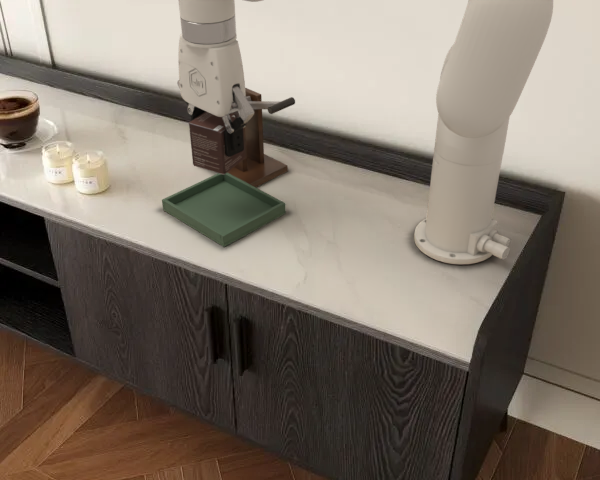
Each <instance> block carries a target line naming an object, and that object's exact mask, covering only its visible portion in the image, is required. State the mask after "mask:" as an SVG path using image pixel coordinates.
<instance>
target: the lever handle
mask: <svg viewBox="0 0 600 480" xmlns="http://www.w3.org/2000/svg"><path fill="white" fill-rule="evenodd" d="M246 99H247V101H248V102H249V104H250V105H251V107H252V108H253V110H254V109H262V110H267V113H268V114H269V115H273V114H275V113H278V112H280V111H282V110H284V109H286V108H289V107H291V106H294V105H295V104H296V99H295V98H294V97H293V96H290V97H289V98H286V99H284V100H281V101H279V100H278V101H275V100H274V101H271V100H270V101H268V100H267V101H266V100H265V101H263V100H262V101H251V97H250V96H246Z"/></svg>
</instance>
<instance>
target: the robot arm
mask: <svg viewBox="0 0 600 480" xmlns="http://www.w3.org/2000/svg"><path fill="white" fill-rule="evenodd" d="M243 1H245V2H250V3H257V2H258V3H259V2H263V1H264V0H243ZM235 2H236V1H235V0H178V11H179V19H180V27H181V28H180V29H181V33H180V35H179V39H178V55H177V56H178V57H177V60H178V61H177V62H178V80H177V83H176V84H177V86H178V88H179V91H180V96H181V98H182V100H183V101H184V102H185V103H186V105H187V113H188V114H189V115H190V122H191V121H192V120H194V119H195V118H197V117H198V116H200V115H201V114H203V113H205V112H208V113H211V114H213V115H215V116H218V117H222V119H223V121H224V124H225V127H226V129H227V131H225V132H224V140H225V153H226V156H228V157H231V156H233V155H235V154H237V153H240V152H242V151H243V150H244V140H243V128H245V127H246V124H247V123H248V122H249V120H250V119H251V118H252V117H253V115H254V110H253V108H252V107H251V105H250V104H249V102H248V101H247V99H246V95H245V88H246V80H245V72H244V66H243V60H242V54H241V53H242V52H241V48H240V44H239V41H238V40H237V19H236V3H235ZM553 13H554V0H468V1H467V4H466V7H465V10H464V13H463V18H462V20H461V22H460V26H459V28H458V32H457V34H456V37H455V40H454V43H453V44H452V45H451V47H450V48H449V49H448V51H447V53H446V56H445V57H444V61H443V64H442V68H441V72H440V77H439V81H438V86H437V90H436V93H435V96H436V97H435V103H436V109H437V114H438V115H437V122H436V132H435V141H434V148H433V157H432V165H431V174H430V184H429V191H428V200H427V201H428V203H427V209H426V218H424V219H422V220H421V221H420V222H419V223H418V224H417V225H416V227H415V229H414V235H413V241H414V243H415V245H416V247H417V248H418V250H419V251H420V252H422V253H423V254H424V255H425V256H427V257H429V258H431V259H434V260H436V261H438V262H442V263H445V264H451V265H472V264H477V263H481V262H483V261H485V260H488V259H489V258H490V257H492V256H494V257H496V258H498V259H500V260H502V261H504V260H505V259H507V257H508V255H509V254H510V247H509V246H510V245H511V242H512V239H511V238H509V237H507V236H504V235H501V234H499V232H498V231H497V229H498V224H499V223H498V222H499V221H498V220H496V219H493V212H494V207H495V201H496V196H497V189H498V184H499V179H500V173H501V168H502V161H503V156H504V153H505V147H506V140H507V134H508V129H509V124H510V123H509V122H510V117H511V115H512V114H513V112H514V110H515V108H516V106H517V104H518V102H519V99H520V97H521V96H522V92H523V91H524V89H525V86H526V84H527V82H528V80H529V77H530V74H531V73H532V70H533V67H534V66H535V63H536V61H537V59H538V56H539V55H540V51H541V49H542V47H543V44H544V42H545V41H546V40H545V39H546V37H547V34H548V31H549V29H550V27H551V26H550V25H551V22H552V19H553ZM231 106H232V107H233V108H231ZM231 113H234V115H235V118H236V119H235V120H234V121H233V122H232V121H231V118H230V116H229V114H231Z"/></svg>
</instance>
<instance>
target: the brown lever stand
mask: <svg viewBox="0 0 600 480" xmlns="http://www.w3.org/2000/svg"><path fill="white" fill-rule="evenodd" d="M245 95H246V96H250V97H251V101H263V100H262V94H261V93H260V92H256V91H255V90H252V89H249V88H248V87H245ZM231 108H233V107H232V106H231ZM233 114H234V113H233ZM243 129H244V144H245V159H244V160H242V161H241V162H240V163H238V164H237V165H236V166H235V167H233V168H232V169H231V170H229V171H228V172H227V173H229V174H231V175H233V176H235V177H237V178H239V179H240V180H242V181H244V182H246V183H248V184H250V185H252V186H254V187H256V188H258V187H259V186H261V185H263V184H266V183H267V182H269V181H271V180H274V179H275V178H277V177H279V176H281V175H284V174H285V173H287V172H288V171H289V166H288V164H286V163H284V162H282V161H280V160H277V159H275V158H273V157H272V156H269V155H268V154H266V153H265V145H264V123H263V109H254V115H253V117H252V118H251V119H250V120H249V122H248V123H247V124H246V127H245V128H243Z"/></svg>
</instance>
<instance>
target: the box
mask: <svg viewBox="0 0 600 480" xmlns="http://www.w3.org/2000/svg"><path fill="white" fill-rule="evenodd" d="M229 116H230V118H231V121H232V122H233V121H234V120H235V119H236V118H235V115H234V114H233V113H231V114H229ZM188 128H189V137H190V138H189V139H190V148H191V157H192V165H193V166H194V167H196V168H199V169H204V170H207V171H210V172H213V173H216V174H218V173H219V174H222V175H224V174H226V173H227V172H228V171H229V170H231V169H232V168H233V167H235V166H236V165H237V164H238V163H240V162H241V161H242V160H244V159H245V144H244V150H243V151H242V152H240V153H237V154H235V155H233V156H231V157H228V156H226V153H225V140H224V132H225V131H227V129H226V127H225V124H224V121H223V119H222V117H218V116H215V115H213V114H211V113H208V112H205V113H203V114H201V115H200V116H198V117H197V118H195V119H194V120H192V121H191V120H190V121H189V122H188ZM243 140H244V129H243Z"/></svg>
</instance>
